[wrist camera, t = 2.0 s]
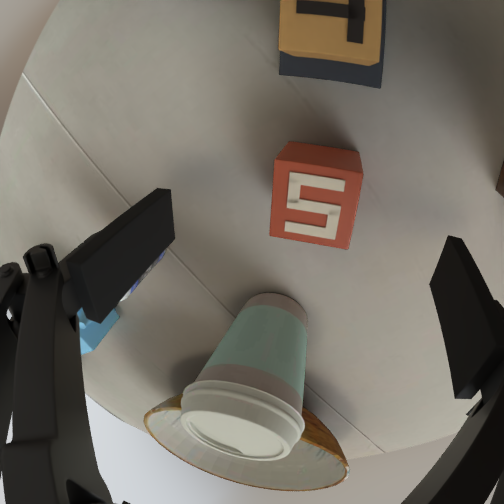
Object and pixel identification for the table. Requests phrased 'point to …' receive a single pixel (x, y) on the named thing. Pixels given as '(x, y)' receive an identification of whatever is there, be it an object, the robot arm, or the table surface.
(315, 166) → the block
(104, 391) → the table surface
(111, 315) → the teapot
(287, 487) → the bowl
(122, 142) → the table surface
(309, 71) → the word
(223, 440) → the coffee cup
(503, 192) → the word stand
